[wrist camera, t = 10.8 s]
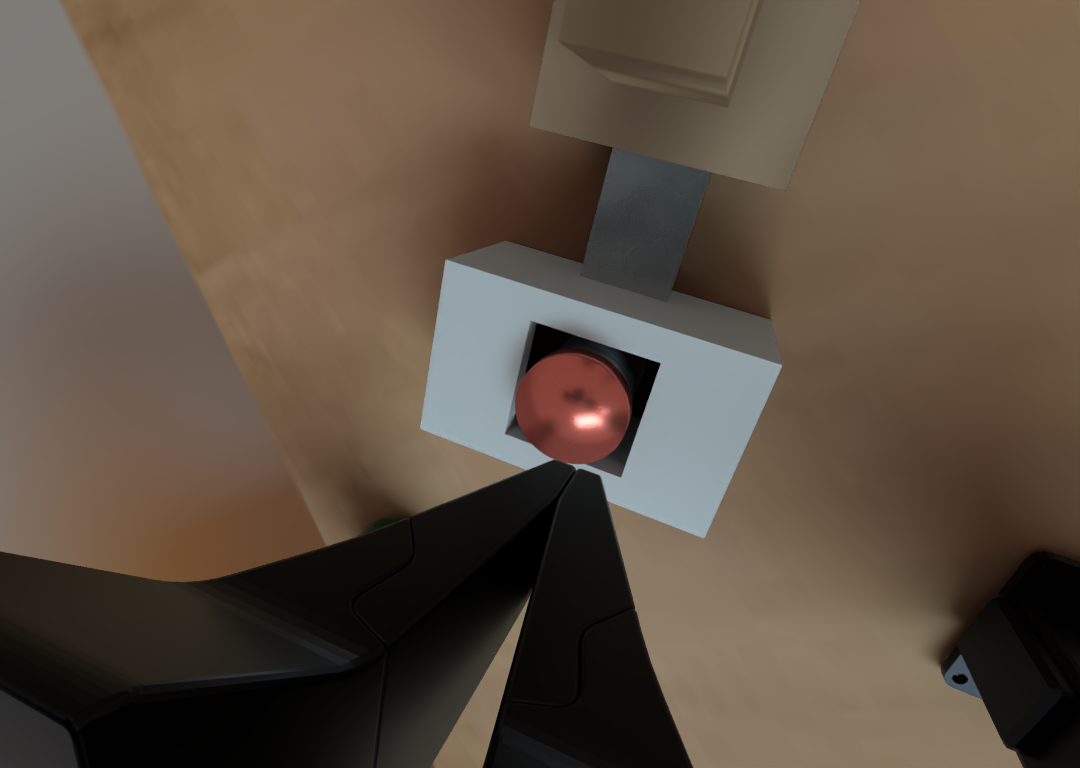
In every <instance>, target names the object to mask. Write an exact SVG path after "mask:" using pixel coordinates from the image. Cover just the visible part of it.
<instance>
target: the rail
mask: <svg viewBox="0 0 1080 768" xmlns="http://www.w3.org/2000/svg"><path fill="white" fill-rule="evenodd" d="M711 174H712V172H708V171H704V170H700V169H696V168H692V167H688V166H684V165H680V164H676V163H672V162H668V161H664V160H661V159H657V158H653V157H649V156H645V155H641V154H637V153H633V152H629V151H625V150H621V149H617V148H613V149H612V153H611V157H610V161H609V164H608V168H607V172H606V176H605V180H604V184H603V188H602V191H601V195H600V199H599V203H598V207H597V211H596V215H595V218H594V222H593V226H592V230H591V234H590V238H589V242H588V246H587V249H586V253H585V257H584V261H583V265H582V269H581V273H580V276H582V277H585V278H588V279H592V280H595V281H598V282H602V283H605V284H608V285H611V286H615V287H618V288H621V289H625V290H628V291H631V292H634V293H638V294H641V295H644V296H648V297H651V298H654V299H657V300H661V301H664V302H667V300H668V298H669V296H670V294H671V292H672V289H673V287H674V284H675V281H676V278H677V275H678V272H679V269H680V266H681V263H682V260H683V257H684V254H685V251H686V248H687V245H688V242H689V239H690V236H691V233H692V230H693V227H694V224H695V221H696V218H697V215H698V212H699V209H700V206H701V203H702V200H703V197H704V194H705V191H706V188H707V185H708V182H709V179H710V177H711Z"/></svg>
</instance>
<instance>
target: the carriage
mask: <svg viewBox="0 0 1080 768" xmlns="http://www.w3.org/2000/svg"><path fill="white" fill-rule="evenodd" d="M860 1H861V0H554V1H553V6H552V11H551V16H550V21H549V27H548V32H547V37H546V42H545V47H544V52H543V57H542V62H541V67H540V73H539V78H538V83H537V88H536V93H535V98H534V103H533V108H532V113H531V119H530V124H529V127H533V128H537V129H541V130H545V131H549V132H553V133H557V134H561V135H565V136H569V137H573V138H577V139H581V140H585V141H589V142H593V143H597V144H601V145H605V146H609V147H613V148H617V149H621V150H625V151H629V152H633V153H637V154H641V155H645V156H649V157H653V158H657V159H661V160H664V161H668V162H672V163H676V164H680V165H684V166H688V167H692V168H696V169H700V170H704V171H708V172H712V173H716V174H720V175H724V176H728V177H732V178H736V179H740V180H744V181H748V182H752V183H756V184H760V185H764V186H768V187H772V188H776V189H780V190H784V191H786V188H787V186H788V183H789V181H790V178H791V176H792V173H793V171H794V168H795V165H796V163H797V160H798V158H799V155H800V153H801V150H802V148H803V145H804V143H805V140H806V138H807V135H808V133H809V130H810V128H811V125H812V123H813V120H814V117H815V115H816V112H817V110H818V107H819V105H820V102H821V100H822V97H823V95H824V92H825V90H826V87H827V85H828V82H829V80H830V77H831V74H832V72H833V69H834V67H835V64H836V62H837V59H838V57H839V54H840V52H841V49H842V47H843V44H844V42H845V39H846V37H847V34H848V32H849V29H850V26H851V24H852V21H853V19H854V16H855V14H856V11H857V9H858V6H859V4H860Z"/></svg>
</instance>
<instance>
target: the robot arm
mask: <svg viewBox="0 0 1080 768" xmlns="http://www.w3.org/2000/svg"><path fill="white" fill-rule="evenodd" d="M1045 565H1052V566H1051V567H1050V568H1049V569H1046V570H1040V568H1041V567H1043V566H1045ZM530 595H531V596H530ZM529 596H530V599H529V603H528V606H527V610H526V614H525V617H524V621H523V625H522V628H521V632H520V636H519V639H518V643H517V646H516V650H515V654H514V657H513V661H512V665H511V668H510V672H509V676H508V679H507V683H506V686H505V690H504V694H503V697H502V701H501V705H500V709H499V712H498V716H497V719H496V723H495V726H494V730H493V733H492V737H491V741H490V744H489V748H488V751H487V754H486V758H485V761H484V764H483V768H693V766H692V764H691V761H690V759H689V756H688V754H687V751H686V749H685V747H684V744H683V742H682V739H681V737H680V734H679V732H678V730H677V727H676V725H675V722H674V720H673V718H672V715H671V713H670V710H669V708H668V705H667V703H666V701H665V698H664V695H663V693H662V690H661V688H660V685H659V682H658V680H657V677H656V674H655V672H654V669H653V667H652V664H651V661H650V658H649V654H648V651H647V648H646V644H645V641H644V638H643V635H642V631H641V627H640V623H639V619H638V615H637V612H636V611H635V605H634V601H633V597H632V593H631V589H630V586H629V582H628V578H627V574H626V570H625V566H624V563H623V559H622V555H621V551H620V547H619V543H618V539H617V536H616V532H615V528H614V524H613V520H612V516H611V512H610V509H609V505H608V501H607V497H606V493H605V489H604V485H603V482H602V478H601V476H600V475H598V474H595V473H592V472H590V471H587V470H584V469H578V470H576V468H575V467H574V466H573V465H570V464H567V463H564V462H561V461H559V460H551V461H548V462H546V463H543V464H541V465H538V466H536V467H533V468H531V469H528V470H526V471H523V472H521V473H518V474H516V475H513V476H511V477H508V478H506V479H503V480H501V481H498V482H496V483H493V484H491V485H488V486H486V487H483V488H481V489H478V490H476V491H473V492H471V493H468V494H466V495H463V496H461V497H458V498H456V499H453V500H451V501H448V502H446V503H443V504H441V505H438V506H436V507H433V508H431V509H428V510H426V511H423V512H421V513H418V514H416V515H413V516H411V517H410V519H408V518H405V519H403V520H400V521H398V522H395V523H393V524H390V525H388V526H385V527H383V528H380V529H377V530H374V531H372V532H369V533H366V534H364V535H361V536H358V537H355V538H352V539H349V540H346V541H343V542H339V543H336V544H333V545H330V546H327V547H324V548H320V549H317V550H313V551H310V552H307V553H303V554H300V555H296V556H293V557H290V558H287V559H283V560H279V561H276V562H272V563H269V564H266V565H262V566H259V567H256V568H252V569H248V570H245V571H242V572H238V573H235V574H231V575H227V576H223V577H220V578H215V579H209V580H203V581H193V582H167V581H160V580H153V579H147V578H142V577H136V576H131V575H126V574H120V573H115V572H109V571H104V570H98V569H93V568H87V567H81V566H76V565H70V564H66V563H60V562H54V561H49V560H44V559H38V558H33V557H27V556H21V555H16V554H11V553H5V552H0V768H430V767H431V765H432V763H433V762H434V760H435V758H436V757H437V755H438V753H439V751H440V750H441V748H442V746H443V745H444V743H445V741H446V739H447V738H448V736H449V734H450V733H451V731H452V729H453V727H454V726H455V724H456V722H457V721H458V719H459V717H460V715H461V714H462V712H463V710H464V709H465V707H466V705H467V703H468V702H469V700H470V698H471V697H472V695H473V693H474V691H475V690H476V688H477V686H478V685H479V683H480V681H481V679H482V678H483V676H484V674H485V673H486V671H487V669H488V667H489V666H490V664H491V662H492V661H493V659H494V657H495V655H496V654H497V652H498V650H499V649H500V647H501V645H502V643H503V642H504V640H505V638H506V637H507V635H508V633H509V631H510V630H511V628H512V626H513V625H514V623H515V621H516V619H517V618H518V616H519V614H520V613H521V611H522V609H523V607H524V606H525V604H526V602H527V600H528V598H529ZM941 673H942V675H943V677H944V680H945V682H946V683H947V684H948V685H949V686H951V687H953V688H955V689H958V690H960V691H963V692H965V693H968V694H970V695H973V696H975V697H978V698H980V699H983V702H984V704H985V706H986V708H987V710H988V712H989V714H990V716H991V719H992V721H993V723H994V725H995V727H996V729H997V731H998V733H999V735H1000V738H1001V740H1002V742H1003V744H1004V745H1005V746H1006V748H1008V749H1011V750H1013V751H1015V752H1016V753H1017V755H1018V757H1019V760H1020V762H1021V764H1022V766H1023V768H1080V562H1077V561H1074V560H1072V559H1069V558H1066V557H1063V556H1060V555H1057V554H1054V553H1051V552H1046V551H1042V552H1036V553H1033V554H1031V555H1030V556H1028V557H1027V558H1026V559H1025V561H1024V562H1023V563H1022V565H1021V566H1020V567H1019V568H1018V570H1017V571H1016V572H1015V573H1014V575H1013V576H1012V577H1011V578H1010V580H1009V581H1008V582H1007V584H1006V585H1005V586H1004V587H1003V589H1002V590H1001V591H1000V592H999V594H998V595H997V596H996V597H994V598H993V599H992V600H991V601H990V602H989V603H988V605H987V606H986V607H985V608H984V610H983V611H982V612H981V613H980V615H979V616H978V617H977V619H976V620H975V621H974V622H973V624H972V625H971V626H970V627H969V629H968V630H967V631H966V632H965V634H964V635H963V636H962V638H961V639H960V640H959V641H958V643H957V647H956V648H955V649H954V651H953V652H952V653H951V654H950V656H949V657H948V658H947V659H946V661H945V662H944V663H943V664H942V667H941ZM959 673H960V674H962V675H958V676H956V675H955V674H959Z"/></svg>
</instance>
